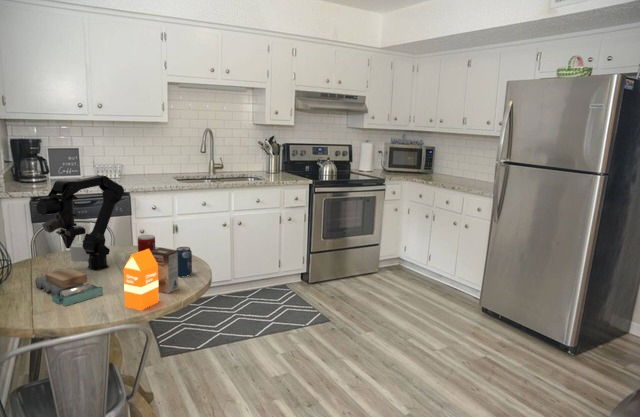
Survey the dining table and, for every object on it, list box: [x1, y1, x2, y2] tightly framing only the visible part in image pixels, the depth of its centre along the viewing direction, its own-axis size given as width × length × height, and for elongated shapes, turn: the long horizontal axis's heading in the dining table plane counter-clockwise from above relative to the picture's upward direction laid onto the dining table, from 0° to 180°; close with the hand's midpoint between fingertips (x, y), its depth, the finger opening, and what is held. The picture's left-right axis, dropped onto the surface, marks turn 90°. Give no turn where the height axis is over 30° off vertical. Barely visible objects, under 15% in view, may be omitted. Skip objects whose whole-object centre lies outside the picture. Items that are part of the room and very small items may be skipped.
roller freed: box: [59, 283, 93, 297], centre depth 164 cm, size 10×4×4 cm, turn 146°
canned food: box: [137, 234, 156, 252], centre depth 211 cm, size 8×8×11 cm
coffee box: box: [151, 247, 179, 294], centre depth 173 cm, size 9×6×16 cm
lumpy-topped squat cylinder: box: [70, 238, 90, 262], centre depth 208 cm, size 10×13×9 cm
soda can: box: [175, 246, 193, 277], centre depth 191 cm, size 7×7×12 cm
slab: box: [44, 267, 88, 289], centre depth 167 cm, size 9×12×3 cm
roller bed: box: [35, 275, 104, 307], centre depth 168 cm, size 15×26×4 cm, turn 56°
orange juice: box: [123, 249, 160, 311], centre depth 158 cm, size 8×9×20 cm
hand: (68, 248), depth 181 cm, fingers closed
